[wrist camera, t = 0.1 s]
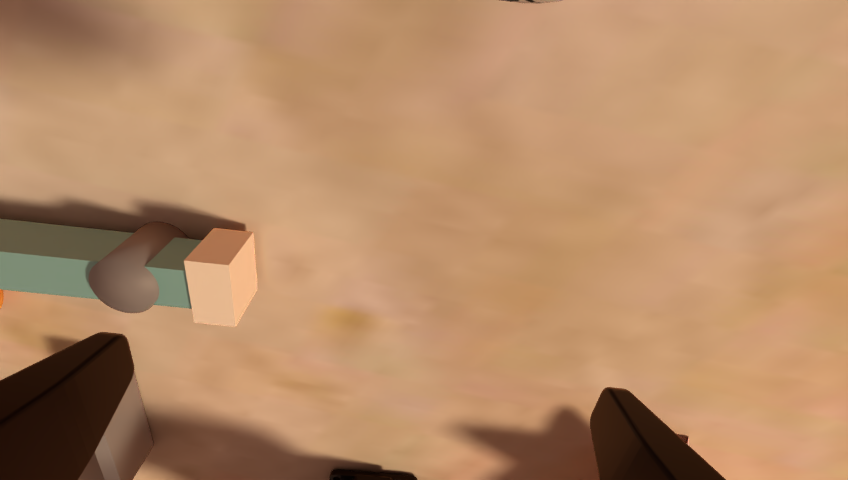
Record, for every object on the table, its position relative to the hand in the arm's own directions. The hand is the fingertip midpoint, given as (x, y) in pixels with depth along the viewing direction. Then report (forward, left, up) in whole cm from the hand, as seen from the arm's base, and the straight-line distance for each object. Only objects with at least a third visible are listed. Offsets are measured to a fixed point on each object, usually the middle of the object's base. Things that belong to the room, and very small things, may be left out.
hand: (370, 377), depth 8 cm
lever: (-7, +16, -15) cm, 23 cm away
